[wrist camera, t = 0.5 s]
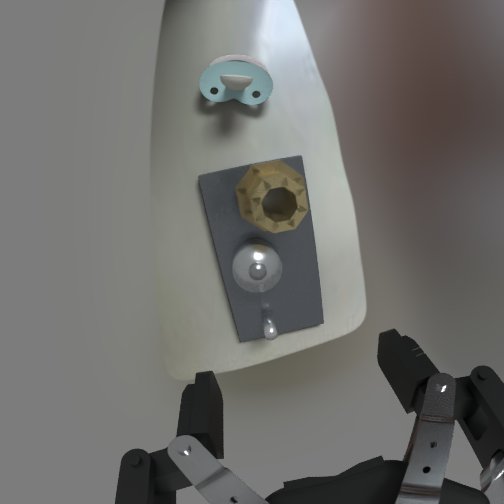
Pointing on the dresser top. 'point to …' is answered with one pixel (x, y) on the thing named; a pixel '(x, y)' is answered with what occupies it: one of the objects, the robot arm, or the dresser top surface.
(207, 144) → the dresser top surface
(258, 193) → the brass octagonal tube
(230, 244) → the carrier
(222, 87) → the pacifier
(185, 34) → the dresser top surface
